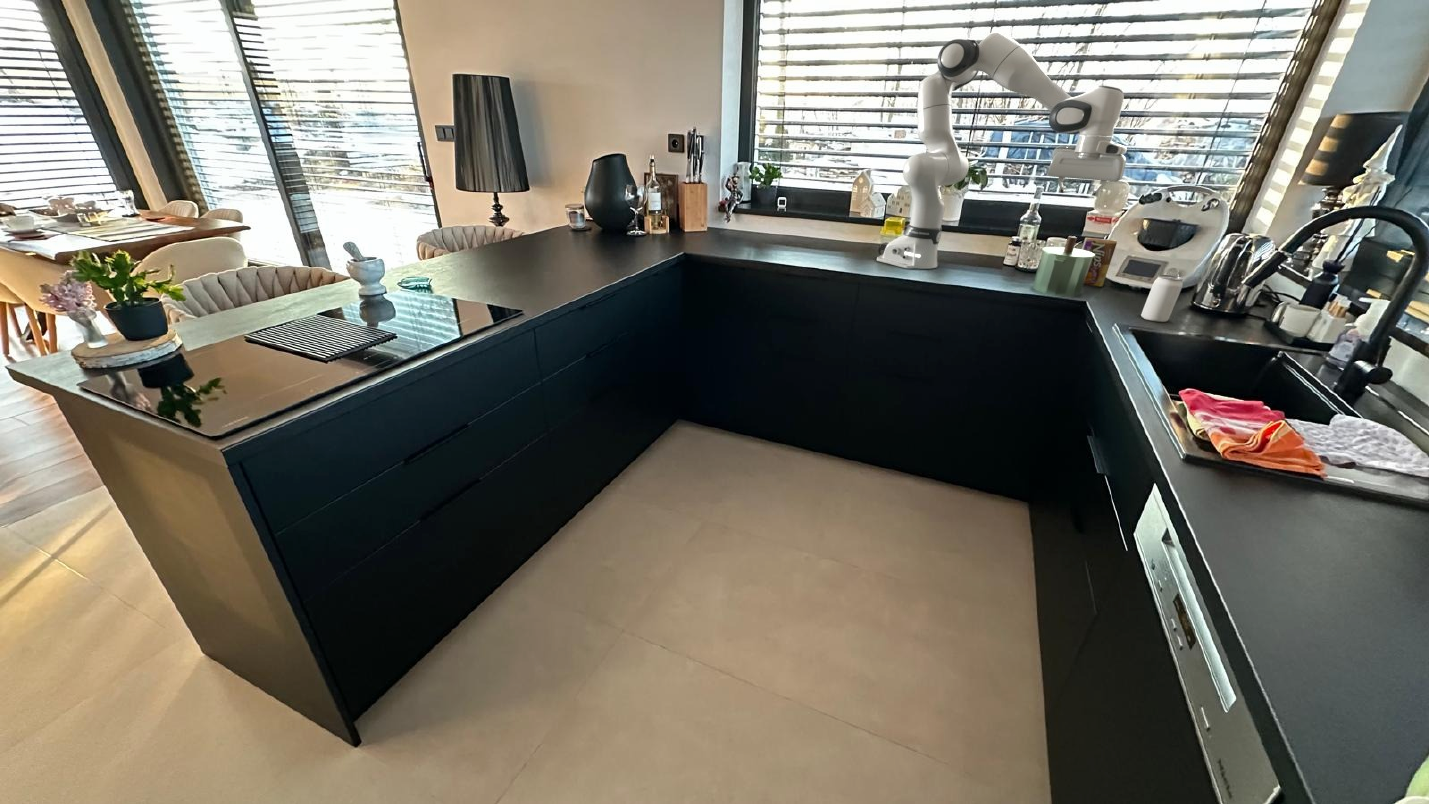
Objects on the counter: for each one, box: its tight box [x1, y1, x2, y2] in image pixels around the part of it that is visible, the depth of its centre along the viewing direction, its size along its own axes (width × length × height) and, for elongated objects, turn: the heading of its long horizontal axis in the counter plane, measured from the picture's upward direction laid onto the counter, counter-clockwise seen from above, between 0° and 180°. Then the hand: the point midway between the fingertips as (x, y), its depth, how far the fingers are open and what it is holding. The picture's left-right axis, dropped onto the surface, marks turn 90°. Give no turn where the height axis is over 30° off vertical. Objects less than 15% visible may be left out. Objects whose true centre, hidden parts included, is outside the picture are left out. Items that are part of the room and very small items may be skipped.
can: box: [1140, 274, 1184, 323], centre depth 156 cm, size 6×6×12 cm
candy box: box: [1081, 237, 1118, 287], centre depth 187 cm, size 9×4×15 cm, turn 65°
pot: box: [1032, 252, 1092, 298], centre depth 179 cm, size 14×19×12 cm
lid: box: [1041, 235, 1095, 259], centre depth 175 cm, size 15×15×6 cm
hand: (1077, 194), depth 176 cm, fingers open, 8 cm apart
